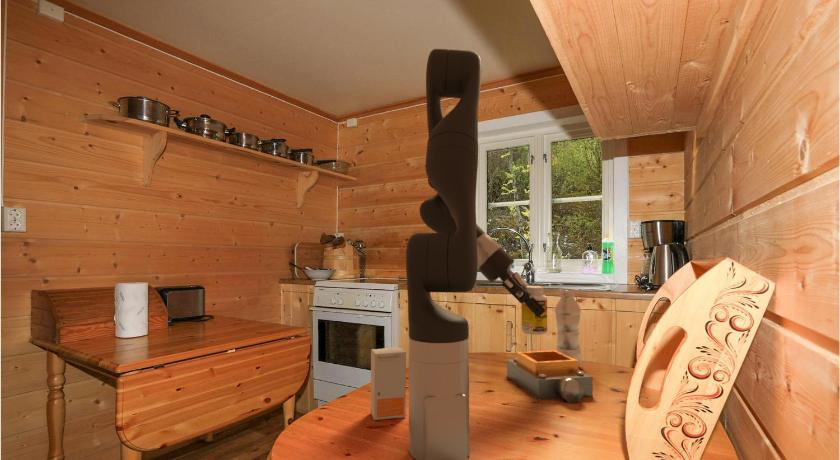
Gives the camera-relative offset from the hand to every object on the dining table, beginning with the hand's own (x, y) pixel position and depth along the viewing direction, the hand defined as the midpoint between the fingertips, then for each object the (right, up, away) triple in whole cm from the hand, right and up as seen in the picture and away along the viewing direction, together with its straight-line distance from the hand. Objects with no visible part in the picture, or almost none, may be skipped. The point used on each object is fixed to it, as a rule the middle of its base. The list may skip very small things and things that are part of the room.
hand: (542, 311), depth 96 cm
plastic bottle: (+12, -18, +17) cm, 27 cm away
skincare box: (-33, -17, -16) cm, 40 cm away
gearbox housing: (+2, -17, 0) cm, 17 cm away
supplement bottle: (-2, -5, 0) cm, 5 cm away
